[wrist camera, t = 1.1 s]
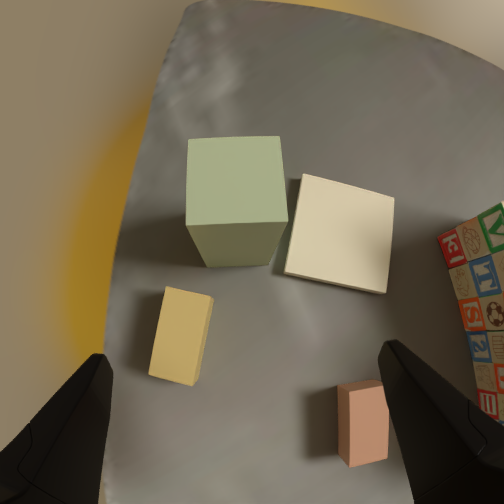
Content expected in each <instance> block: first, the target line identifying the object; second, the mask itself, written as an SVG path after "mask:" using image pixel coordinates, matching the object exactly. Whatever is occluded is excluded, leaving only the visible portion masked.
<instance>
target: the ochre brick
mask: <svg viewBox="0 0 504 504" xmlns="http://www.w3.org/2000/svg"><path fill="white" fill-rule="evenodd" d="M213 303H214V299H213V298H212V297H211V296H207V295H203V294H198V293H193V292H189V291H184V290H180V289H175V288H171V287H167V286H166V289H165V294H164V298H163V303H162V307H161V312H160V317H159V322H158V326H157V331H156V336H155V341H154V347H153V352H152V357H151V362H150V368H149V374H148V375H152V376H155V377H159V378H162V379H166V380H170V381H174V382H178V383H182V384H186V385H190V386H193V385H194V384H195V382H196V381H197V380H198V377H199V372H200V367H201V362H202V357H203V352H204V347H205V342H206V337H207V332H208V327H209V322H210V317H211V312H212V307H213Z"/></svg>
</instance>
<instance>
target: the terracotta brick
mask: <svg viewBox="0 0 504 504" xmlns="http://www.w3.org/2000/svg"><path fill="white" fill-rule="evenodd" d="M337 391H338V455H339V456H340V457H341V458H342V459H343V461H344V462H345V463H346V464H347V465H348V467H349V468H350V467H354V466H359V465H363V464H367V463H371V462H375V461H379V460H383V459H387V455H388V432H389V409H388V406H387V403H386V399H385V394H384V389H383V384H382V382H380V381H377V380H374V379H371V380H366V381H360V382H354V383H348V384H342V385H337Z"/></svg>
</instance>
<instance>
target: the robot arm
mask: <svg viewBox="0 0 504 504" xmlns="http://www.w3.org/2000/svg"><path fill="white" fill-rule="evenodd" d="M378 365H379V369H380V374H381V379H382V384H383V389H384V394H385V399H386V403H387V406H388V409H389V413H390V416H391V419H392V422H393V426H394V429H395V432H396V436H397V439H398V443H399V446H400V450H401V453H402V457H403V460H404V464H405V468H406V472H407V475H408V479H409V483H410V487H411V491H412V495H413V500H414V504H504V426H503V425H502V424H500V423H499V422H497V421H496V420H495V419H493V418H492V417H490V416H489V415H488V414H486V413H485V412H484V411H483V410H481V409H480V408H479V407H478V406H476V405H475V404H474V403H473V402H472V401H470V400H468V398H467V397H466V396H464V395H463V394H462V393H461V392H460V391H459V390H457V389H456V388H455V387H454V386H453V385H451V384H450V383H449V382H448V381H447V380H445V379H444V378H443V377H442V376H441V375H439V374H438V373H437V372H436V371H435V370H433V369H432V368H431V367H430V366H429V365H427V364H426V363H425V362H424V361H423V360H421V359H420V358H419V357H418V356H417V355H415V354H414V353H413V352H412V351H411V350H409V349H408V348H407V347H406V346H404V345H403V344H402V343H401V342H400V341H398V340H396V339H393V340H387V341H385V342H384V344H383V346H382V349H381V351H380V354H379V356H378ZM112 385H113V370H112V367H111V365H110V363H109V361H108V359H107V357H106V356H105V355H104V354H97V353H95V354H92V355H91V356H90V357H89V358H88V359H87V360H86V361H85V362H84V363H83V364H82V365H81V366H80V368H78V369H77V371H76V372H75V373H74V374H73V375H72V376H71V377H70V378H69V379H68V380H67V381H66V382H65V383H64V384H63V385H62V387H61V388H60V389H59V390H58V391H57V392H56V393H55V394H54V395H53V397H51V399H50V400H49V401H48V402H47V403H46V404H45V405H44V406H43V407H42V408H41V410H40V411H39V412H38V413H37V414H36V415H35V416H34V417H33V419H32V420H31V421H30V423H28V424H27V425H26V426H25V428H24V429H23V430H22V431H21V432H20V433H19V434H18V435H17V436H16V437H15V438H14V439H13V441H11V442H10V443H9V444H8V445H7V446H6V447H5V448H4V449H3V450H2V451H1V452H0V504H98V498H99V489H100V481H101V472H102V465H103V458H104V451H105V444H106V438H107V432H108V426H109V420H110V411H111V398H112Z"/></svg>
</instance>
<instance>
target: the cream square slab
mask: <svg viewBox="0 0 504 504" xmlns="http://www.w3.org/2000/svg"><path fill="white" fill-rule="evenodd" d="M393 214H394V198H392V197H389V196H386V195H382V194H379V193H376V192H372V191H369V190H365V189H361V188H358V187H354V186H350V185H347V184H343V183H339V182H335V181H331V180H328V179H324V178H320V177H316V176H311V175H307V174H303V175H302V177H301V181H300V187H299V193H298V198H297V204H296V209H295V215H294V220H293V226H292V231H291V236H290V242H289V247H288V252H287V257H286V262H285V267H284V272H283V274H287V275H291V276H296V277H301V278H305V279H310V280H315V281H319V282H324V283H329V284H334V285H338V286H343V287H348V288H353V289H357V290H362V291H367V292H372V293H377V294H384V293H386V289H387V281H388V273H389V264H390V254H391V243H392V230H393Z"/></svg>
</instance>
